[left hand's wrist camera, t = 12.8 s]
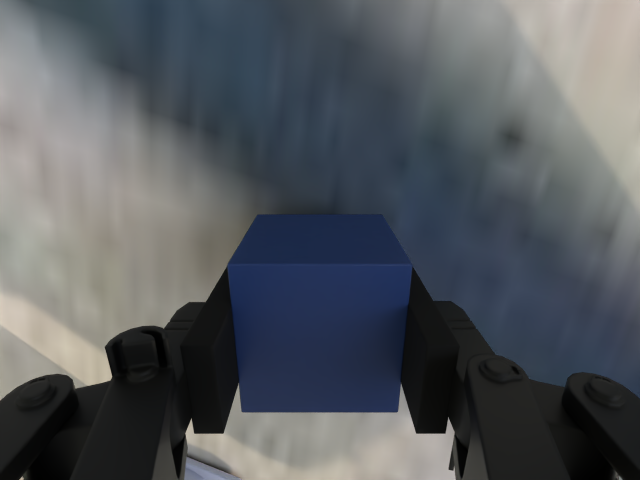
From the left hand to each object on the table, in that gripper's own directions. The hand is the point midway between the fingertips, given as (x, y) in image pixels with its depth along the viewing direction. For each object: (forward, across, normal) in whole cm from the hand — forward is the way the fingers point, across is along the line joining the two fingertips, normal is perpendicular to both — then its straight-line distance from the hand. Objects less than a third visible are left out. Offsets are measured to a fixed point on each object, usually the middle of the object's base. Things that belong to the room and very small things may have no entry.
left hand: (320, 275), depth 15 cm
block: (0, 0, 0) cm, 0 cm away
